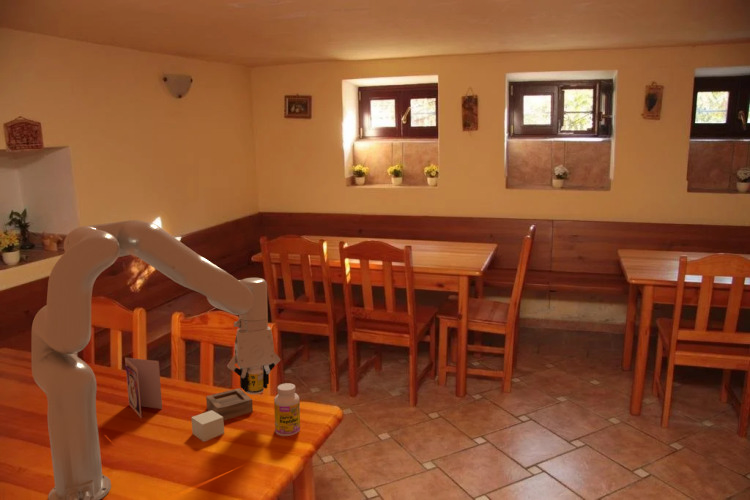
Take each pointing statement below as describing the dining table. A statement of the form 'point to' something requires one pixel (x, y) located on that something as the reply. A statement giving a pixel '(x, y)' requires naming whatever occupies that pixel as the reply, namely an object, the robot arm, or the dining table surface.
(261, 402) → the dining table surface
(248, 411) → the walnut tray
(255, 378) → the supplement bottle
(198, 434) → the beige block
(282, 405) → the supplement bottle
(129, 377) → the greeting card
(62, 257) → the robot arm
